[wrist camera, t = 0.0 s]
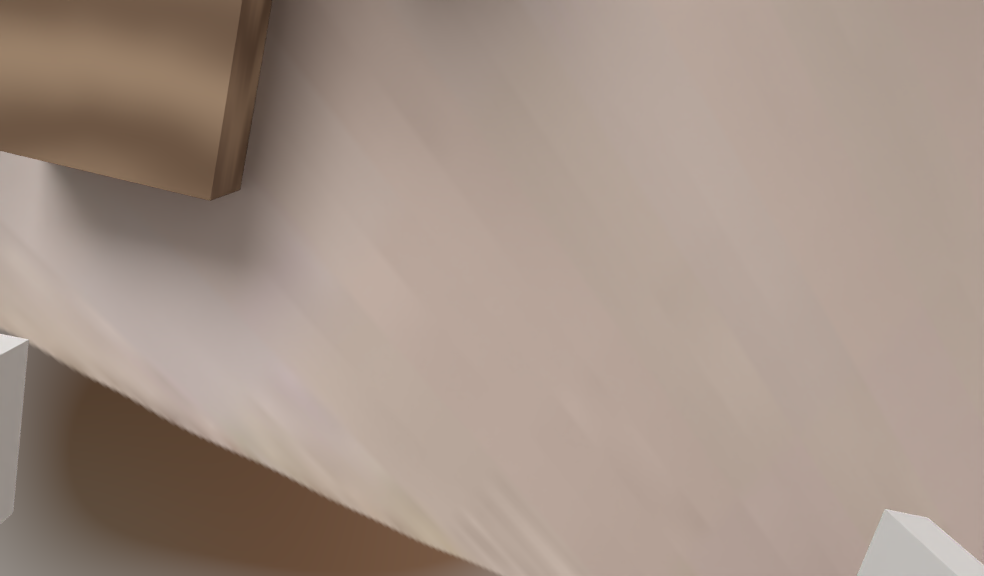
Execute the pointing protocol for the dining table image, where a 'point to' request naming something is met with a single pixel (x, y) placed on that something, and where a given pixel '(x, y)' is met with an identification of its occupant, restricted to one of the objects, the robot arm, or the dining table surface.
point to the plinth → (134, 87)
